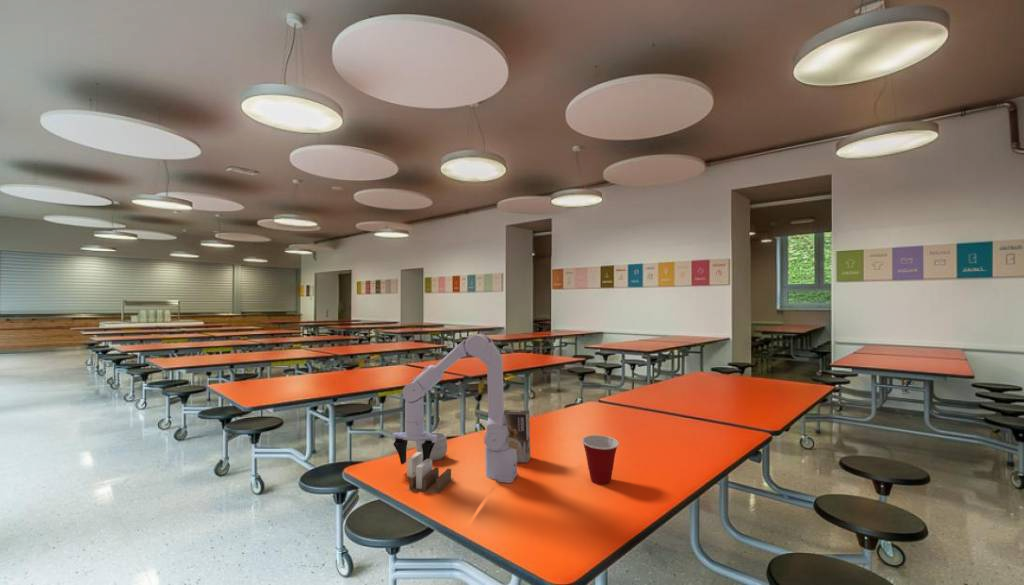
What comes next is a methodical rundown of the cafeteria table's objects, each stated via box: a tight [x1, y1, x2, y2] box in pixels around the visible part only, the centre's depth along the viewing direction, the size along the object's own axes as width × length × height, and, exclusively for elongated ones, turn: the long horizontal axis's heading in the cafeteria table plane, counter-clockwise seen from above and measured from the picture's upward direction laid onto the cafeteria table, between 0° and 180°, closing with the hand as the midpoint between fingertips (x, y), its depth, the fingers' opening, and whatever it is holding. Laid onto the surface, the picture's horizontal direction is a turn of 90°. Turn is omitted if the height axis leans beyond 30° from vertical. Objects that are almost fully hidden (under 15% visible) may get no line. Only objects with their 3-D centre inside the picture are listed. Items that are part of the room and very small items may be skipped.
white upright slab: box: [406, 451, 423, 478], centre depth 134 cm, size 2×7×6 cm, turn 166°
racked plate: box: [416, 459, 433, 489], centre depth 125 cm, size 2×7×6 cm, turn 166°
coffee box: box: [504, 409, 532, 464], centre depth 148 cm, size 9×6×16 cm
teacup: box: [415, 431, 448, 462], centre depth 150 cm, size 14×11×8 cm
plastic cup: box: [581, 434, 620, 485], centre depth 127 cm, size 11×11×12 cm
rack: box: [405, 467, 454, 494], centre depth 125 cm, size 10×11×4 cm
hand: (414, 464), depth 134 cm, fingers open, 7 cm apart
